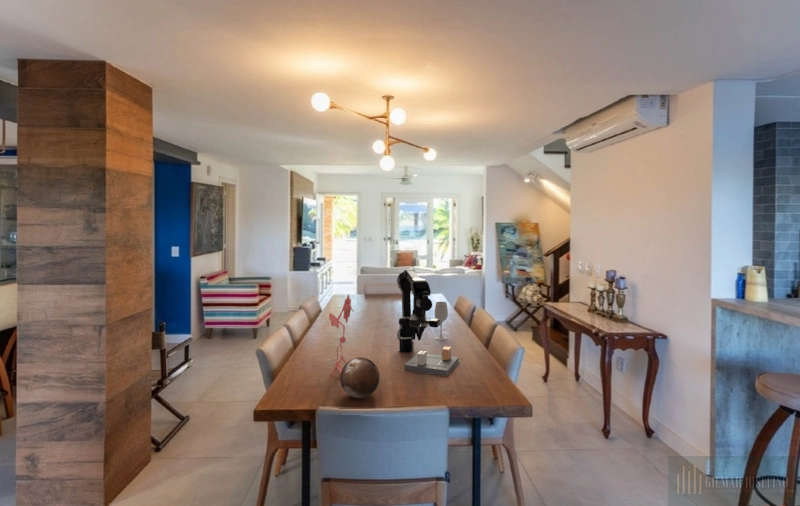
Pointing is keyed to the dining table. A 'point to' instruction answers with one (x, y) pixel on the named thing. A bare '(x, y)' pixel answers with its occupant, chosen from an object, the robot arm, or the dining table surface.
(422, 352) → the white fader
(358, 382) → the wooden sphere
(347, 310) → the figurine
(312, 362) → the dining table surface
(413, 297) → the robot arm
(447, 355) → the orange fader
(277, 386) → the dining table surface
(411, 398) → the dining table surface
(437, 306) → the wineglass
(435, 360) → the console board
